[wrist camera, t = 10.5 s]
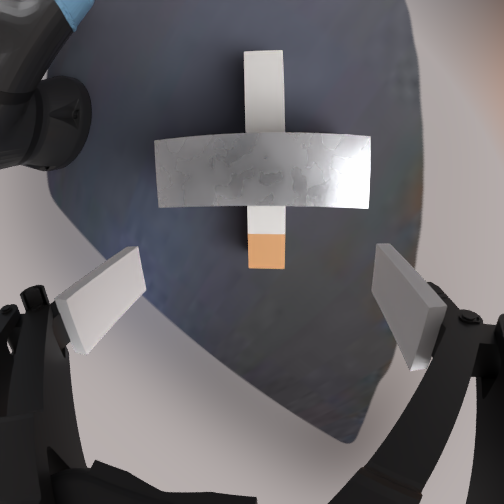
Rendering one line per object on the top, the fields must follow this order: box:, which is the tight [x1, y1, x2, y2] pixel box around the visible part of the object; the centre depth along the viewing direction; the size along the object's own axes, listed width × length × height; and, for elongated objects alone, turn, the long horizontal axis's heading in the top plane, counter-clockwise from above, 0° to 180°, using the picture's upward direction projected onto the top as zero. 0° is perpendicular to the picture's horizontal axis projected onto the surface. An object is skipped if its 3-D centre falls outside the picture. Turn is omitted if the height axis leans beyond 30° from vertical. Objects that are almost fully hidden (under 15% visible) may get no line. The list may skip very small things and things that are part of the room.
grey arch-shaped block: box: [154, 132, 371, 208], centre depth 28 cm, size 6×18×12 cm, turn 91°
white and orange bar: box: [244, 50, 285, 269], centre depth 31 cm, size 24×4×5 cm, turn 1°
